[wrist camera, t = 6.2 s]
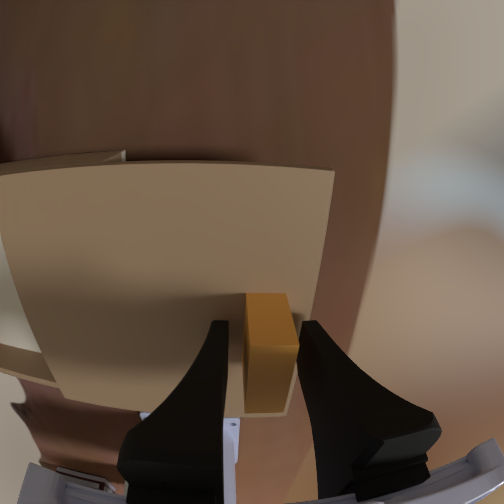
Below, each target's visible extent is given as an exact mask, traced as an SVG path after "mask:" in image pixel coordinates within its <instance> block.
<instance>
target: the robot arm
mask: <svg viewBox="0 0 504 504" xmlns="http://www.w3.org/2000/svg"><path fill="white" fill-rule="evenodd" d="M298 341H299V350H298V354H297V359H296V363H297V371H298V376H299V380H300V384H301V388H302V391H303V395H304V399H305V402H306V406H307V410H308V413H309V417H310V422H311V427H312V434H313V441H314V450H315V458H316V469H317V482H318V500H313V501H305V502H296V503H287V504H474V503H476V502H478V501H479V500H481V499H483V498H484V497H485V496H487V495H489V494H490V493H491V492H493V491H494V490H496V489H497V488H499V487H500V486H501V485H502V484H504V456H503V454H502V452H501V450H500V448H499V446H498V444H497V442H496V440H495V438H491V439H489V440H488V441H485V442H484V443H481V444H479V445H478V446H476V447H475V448H473V449H472V450H471V451H470V452H469V453H468V454H467V456H465V457H463V458H460V459H458V460H456V461H453V462H451V463H449V464H446V465H444V466H441V467H439V468H436V469H434V470H431V471H428V468H427V466H426V463H425V462H427V461H428V457H427V454H426V452H427V451H428V450H429V449H430V448H431V447H432V446H433V445H434V443H435V442H436V441H437V440H438V439H439V437H440V435H441V432H442V430H441V428H440V426H439V423H438V421H437V419H436V417H435V416H434V414H433V412H430V411H428V410H426V409H423V408H421V407H419V406H416V405H414V404H412V403H410V402H408V401H406V400H404V399H403V398H401V397H399V396H397V395H396V394H394V393H392V392H391V391H389V390H388V389H386V388H385V387H383V386H382V385H380V384H379V383H378V382H376V381H375V380H373V379H372V378H371V377H370V376H369V375H367V374H366V373H365V372H364V371H363V370H361V369H360V368H359V367H358V366H357V365H356V364H355V363H354V362H353V361H352V360H351V359H350V358H349V357H348V356H347V355H346V354H345V353H344V352H343V351H342V350H341V349H340V347H339V346H338V345H337V344H336V343H335V342H334V341H333V339H332V338H331V337H330V336H329V335H328V334H327V332H326V331H325V330H324V329H323V328H322V326H321V325H320V324H319V323H318V322H317V321H316V320H311V321H302V326H301V331H300V335H299V340H298ZM228 347H229V320H213V321H212V322H211V325H210V329H209V332H208V334H207V337H206V339H205V341H204V343H203V345H202V347H201V349H200V351H199V353H198V355H197V357H196V358H195V360H194V362H193V363H192V365H191V367H190V368H189V370H188V371H187V373H186V374H185V376H184V377H183V378H182V380H181V381H180V382H179V384H178V385H177V386H176V388H175V389H174V390H173V391H172V392H171V393H170V395H169V396H168V397H167V398H166V399H165V400H164V401H163V402H162V403H161V404H160V405H159V406H158V407H157V408H156V409H155V410H154V411H153V412H152V413H151V412H142V411H140V417H141V420H142V421H141V422H140V423H139V424H137V425H136V426H135V427H133V428H132V429H131V430H129V431H128V433H127V435H126V437H125V439H124V441H123V444H122V446H121V449H120V453H119V457H118V463H117V469H118V471H119V472H120V474H121V475H122V476H123V478H124V479H125V480H126V481H127V483H128V490H127V496H124V495H119V494H115V493H110V492H106V491H101V490H97V489H93V488H90V487H86V486H82V485H79V484H75V483H72V482H69V481H66V480H65V478H64V477H63V476H62V475H60V474H59V473H57V472H55V471H53V470H50V469H47V468H44V467H42V466H39V465H36V464H34V463H29V465H28V468H27V471H26V474H25V478H24V481H23V484H22V487H21V491H20V494H19V498H18V502H17V504H236V485H235V463H237V458H238V442H239V426H240V417H224V411H225V401H226V391H227V382H228Z"/></svg>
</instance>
